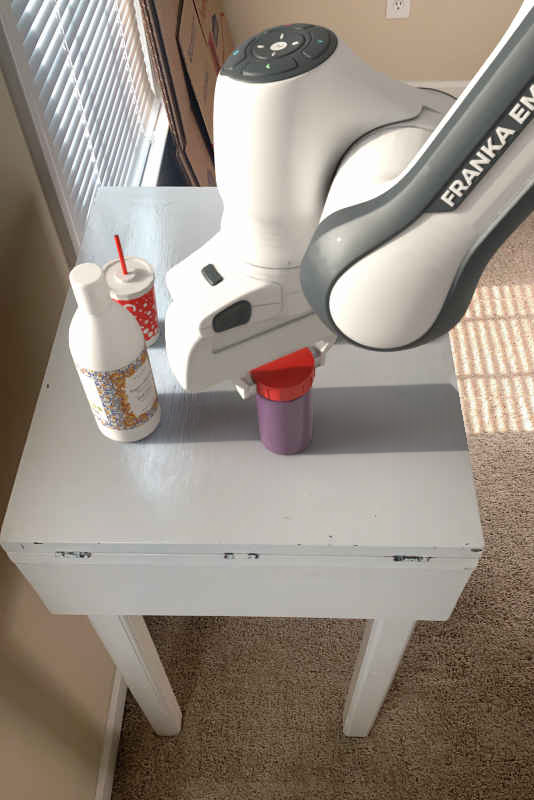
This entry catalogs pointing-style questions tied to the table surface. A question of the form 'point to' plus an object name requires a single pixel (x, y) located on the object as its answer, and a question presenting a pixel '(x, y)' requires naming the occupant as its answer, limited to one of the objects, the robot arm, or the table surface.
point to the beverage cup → (134, 290)
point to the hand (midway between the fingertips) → (280, 377)
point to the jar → (285, 423)
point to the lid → (286, 376)
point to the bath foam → (112, 359)
